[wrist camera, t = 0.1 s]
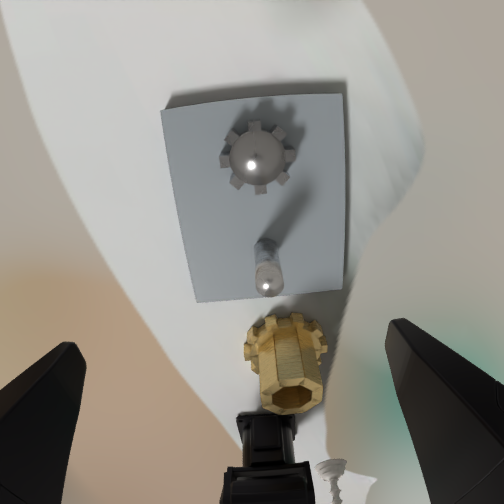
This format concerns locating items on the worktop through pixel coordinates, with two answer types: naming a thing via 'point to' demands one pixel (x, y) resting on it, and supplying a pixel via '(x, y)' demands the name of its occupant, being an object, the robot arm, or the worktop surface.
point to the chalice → (332, 475)
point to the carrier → (260, 194)
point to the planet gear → (287, 362)
